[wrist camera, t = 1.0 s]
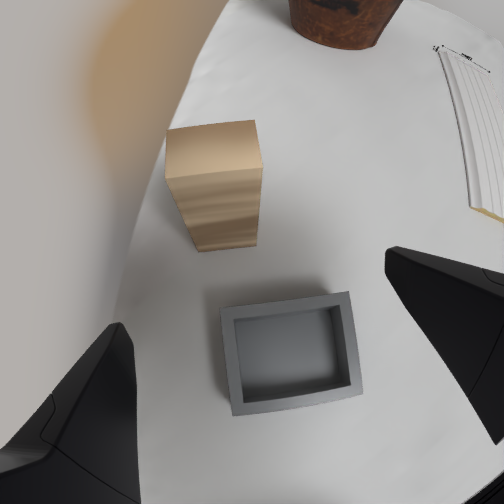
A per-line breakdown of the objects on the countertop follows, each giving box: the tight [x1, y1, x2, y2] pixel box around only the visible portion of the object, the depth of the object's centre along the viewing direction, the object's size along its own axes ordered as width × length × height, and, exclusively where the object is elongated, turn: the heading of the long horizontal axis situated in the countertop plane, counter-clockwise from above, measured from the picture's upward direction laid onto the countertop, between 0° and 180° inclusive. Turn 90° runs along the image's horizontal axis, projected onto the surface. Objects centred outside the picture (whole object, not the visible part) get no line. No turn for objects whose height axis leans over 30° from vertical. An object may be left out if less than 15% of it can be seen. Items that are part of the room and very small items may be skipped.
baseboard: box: [434, 45, 504, 223], centre depth 29 cm, size 31×3×12 cm
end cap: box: [220, 291, 363, 416], centre depth 20 cm, size 7×9×3 cm
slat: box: [165, 120, 263, 252], centre depth 19 cm, size 3×4×11 cm, turn 97°
